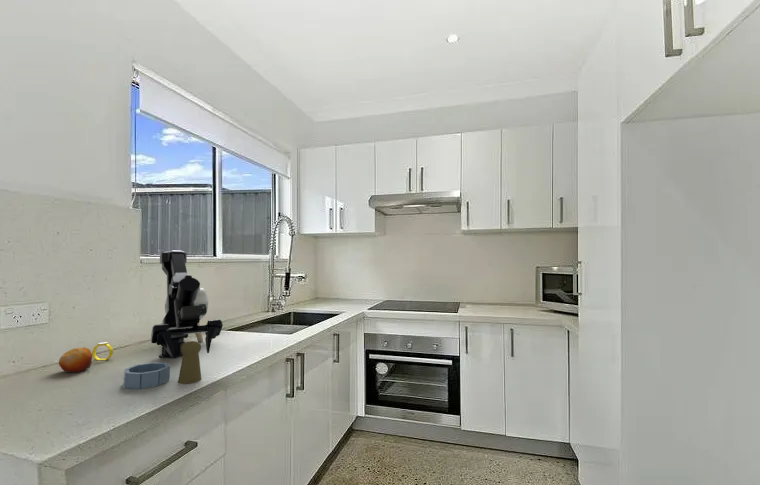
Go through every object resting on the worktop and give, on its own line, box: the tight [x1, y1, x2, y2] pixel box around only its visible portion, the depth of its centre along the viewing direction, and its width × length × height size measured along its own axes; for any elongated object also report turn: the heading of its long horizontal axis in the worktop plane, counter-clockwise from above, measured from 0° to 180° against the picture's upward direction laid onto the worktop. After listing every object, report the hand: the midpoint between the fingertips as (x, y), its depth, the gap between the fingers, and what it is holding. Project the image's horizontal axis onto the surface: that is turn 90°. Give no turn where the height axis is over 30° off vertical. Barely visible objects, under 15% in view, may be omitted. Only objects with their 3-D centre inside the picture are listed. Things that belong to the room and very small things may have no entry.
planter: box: [164, 287, 209, 343], centre depth 151 cm, size 16×16×22 cm
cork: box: [177, 340, 202, 385], centre depth 105 cm, size 6×6×11 cm
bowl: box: [122, 362, 171, 390], centre depth 103 cm, size 11×11×4 cm
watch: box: [91, 341, 114, 361], centre depth 124 cm, size 6×3×6 cm, turn 95°
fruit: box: [58, 346, 93, 373], centre depth 113 cm, size 8×8×8 cm
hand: (191, 354), depth 105 cm, fingers open, 9 cm apart
